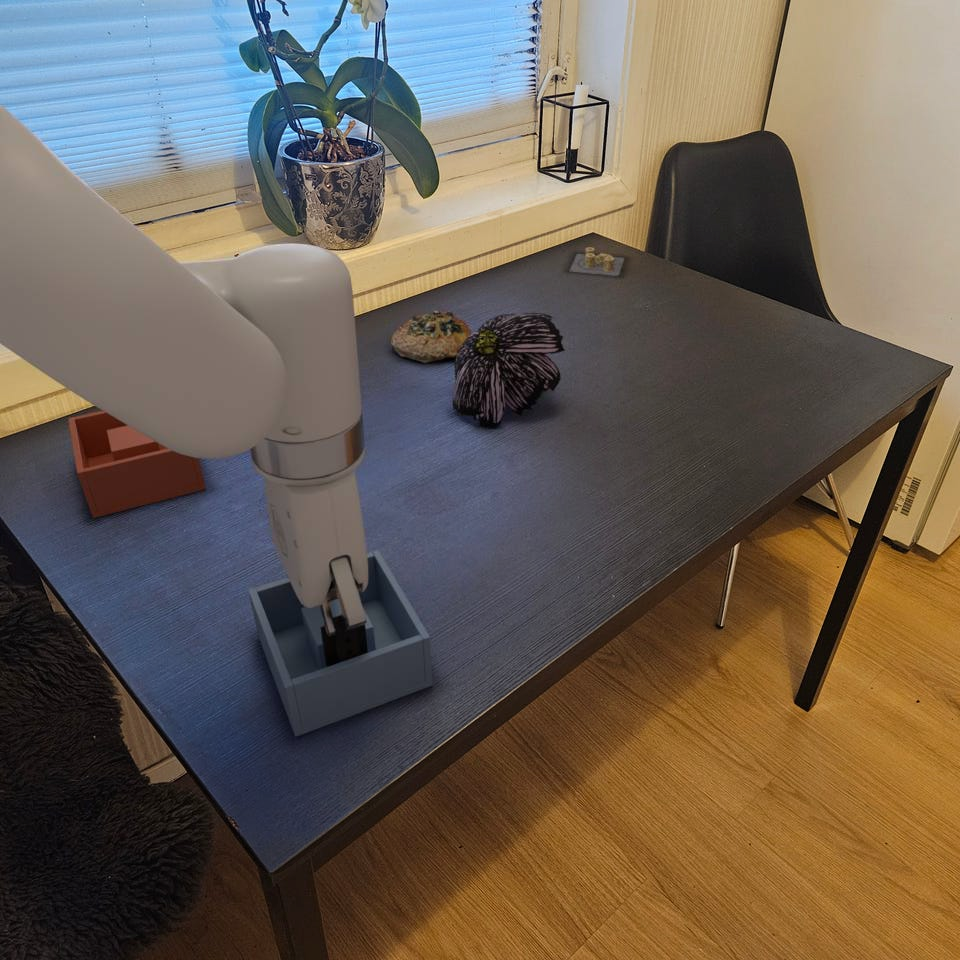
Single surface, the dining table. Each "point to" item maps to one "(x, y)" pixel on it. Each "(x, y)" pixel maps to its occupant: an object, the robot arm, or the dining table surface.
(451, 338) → the bread roll
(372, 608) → the slate bin
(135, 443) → the terracotta block
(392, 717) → the dining table surface
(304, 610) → the slate block
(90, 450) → the terracotta bin
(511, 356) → the decorative flower
